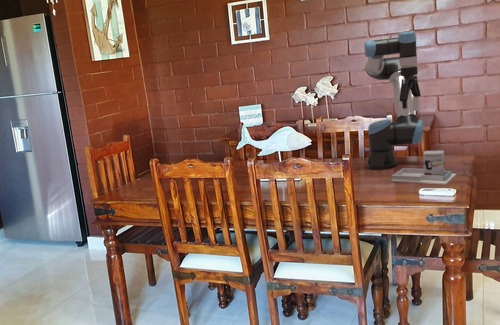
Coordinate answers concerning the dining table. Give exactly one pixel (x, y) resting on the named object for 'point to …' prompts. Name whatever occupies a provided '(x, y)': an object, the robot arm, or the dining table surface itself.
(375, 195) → the dining table surface
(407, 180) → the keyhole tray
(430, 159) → the ink box
